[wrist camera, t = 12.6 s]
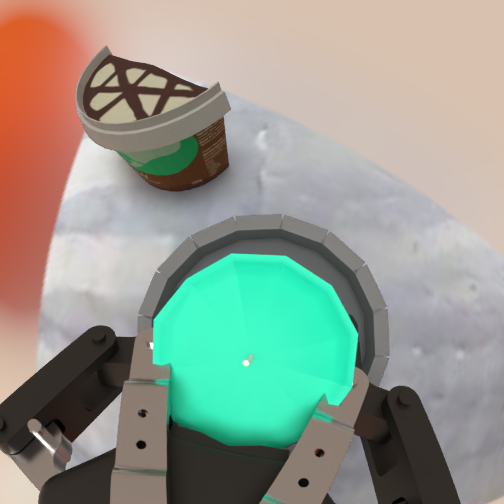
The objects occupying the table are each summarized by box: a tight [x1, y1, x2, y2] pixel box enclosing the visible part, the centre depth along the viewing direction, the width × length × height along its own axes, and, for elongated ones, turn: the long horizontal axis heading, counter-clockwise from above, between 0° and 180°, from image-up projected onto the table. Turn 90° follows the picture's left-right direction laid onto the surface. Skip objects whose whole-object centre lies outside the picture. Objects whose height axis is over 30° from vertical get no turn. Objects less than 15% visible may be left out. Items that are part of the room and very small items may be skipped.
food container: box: [75, 46, 231, 191], centre depth 20 cm, size 12×6×10 cm, turn 54°
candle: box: [153, 253, 358, 449], centre depth 12 cm, size 6×6×12 cm
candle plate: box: [138, 214, 389, 456], centre depth 19 cm, size 16×16×3 cm
